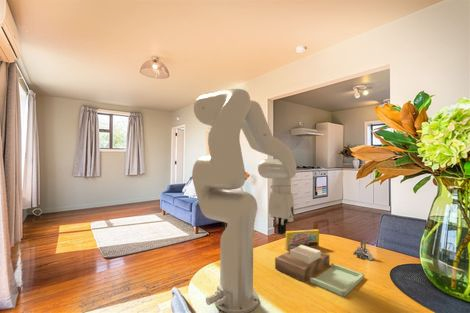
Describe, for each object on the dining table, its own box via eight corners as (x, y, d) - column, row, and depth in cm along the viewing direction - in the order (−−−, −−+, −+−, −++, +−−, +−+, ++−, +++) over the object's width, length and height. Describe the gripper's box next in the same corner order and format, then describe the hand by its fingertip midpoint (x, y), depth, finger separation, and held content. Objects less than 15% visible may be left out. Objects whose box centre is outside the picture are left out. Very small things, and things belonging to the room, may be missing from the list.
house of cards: (341, 256, 96) (341, 238, 96) (354, 253, 100) (355, 235, 100) (361, 265, 88) (361, 245, 88) (375, 261, 92) (375, 242, 92)
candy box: (287, 251, 101) (287, 232, 101) (285, 249, 103) (285, 231, 103) (319, 248, 105) (319, 230, 105) (316, 246, 107) (316, 228, 107)
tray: (344, 297, 66) (344, 292, 67) (309, 282, 75) (309, 277, 75) (364, 278, 77) (364, 274, 77) (332, 267, 85) (332, 263, 85)
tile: (309, 264, 79) (309, 256, 79) (289, 256, 85) (289, 250, 85) (320, 257, 85) (320, 250, 85) (301, 251, 91) (301, 244, 91)
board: (304, 281, 75) (304, 269, 75) (275, 268, 84) (275, 257, 84) (329, 265, 87) (329, 254, 87) (301, 255, 96) (301, 245, 96)
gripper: (261, 188, 97) (262, 231, 97) (291, 192, 86) (292, 240, 86) (272, 186, 102) (273, 227, 102) (302, 190, 91) (302, 235, 91)
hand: (281, 233), depth 94 cm, fingers closed
